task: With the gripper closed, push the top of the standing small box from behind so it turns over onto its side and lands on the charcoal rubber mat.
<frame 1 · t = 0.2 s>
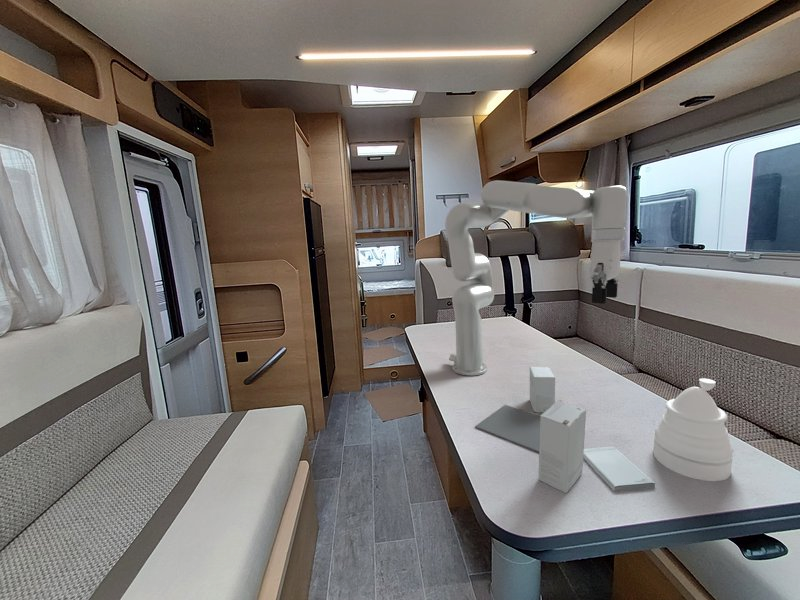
hand: (604, 300, 97), 30 cm above the table, tool pointing down, fingers open, 9 cm apart
small box: (541, 407, 103), on the table
hard drive: (613, 471, 75), on the table
honey pot: (689, 461, 77), on the table
skincare box: (560, 478, 73), on the table
rubber mat: (525, 428, 92), on the table
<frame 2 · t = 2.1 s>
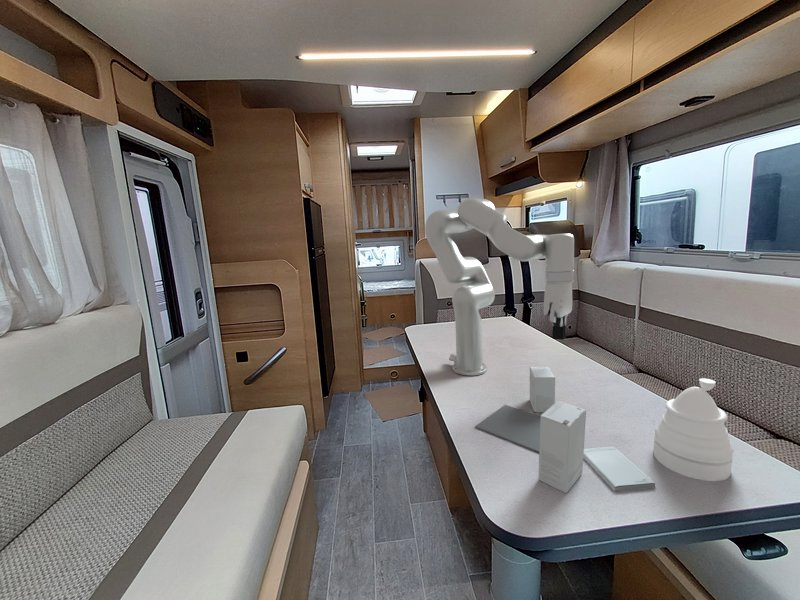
hand: (559, 338, 107), 18 cm above the table, tool pointing down, fingers closed
nothing on the table moved.
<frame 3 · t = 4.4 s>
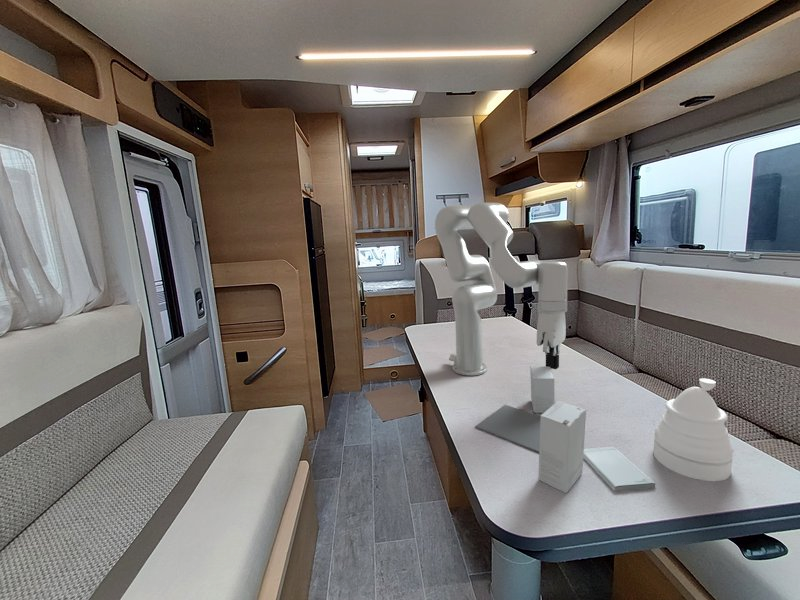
hand: (552, 367, 104), 10 cm above the table, tool pointing down, fingers closed
small box: (542, 406, 103), on the table, touching gripper
everything else where it was.
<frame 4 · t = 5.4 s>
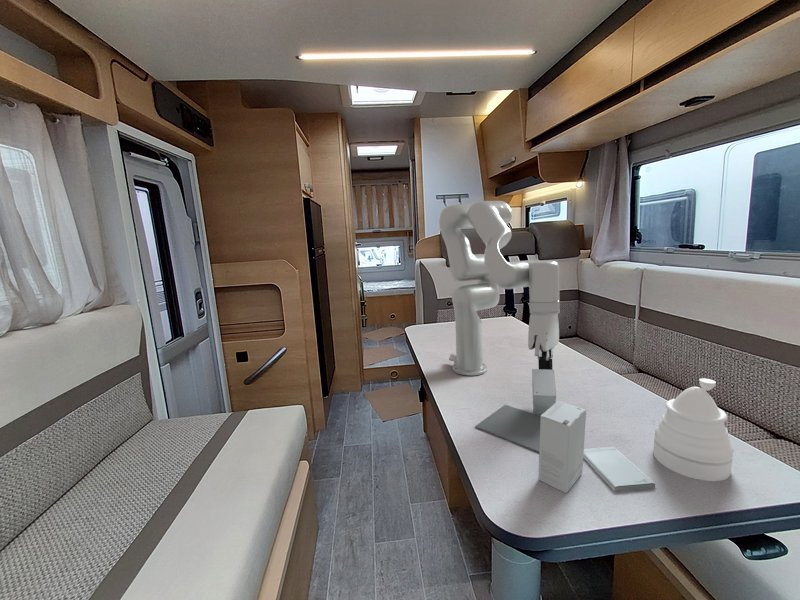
hand: (545, 372, 99), 11 cm above the table, tool pointing down, fingers closed
small box: (543, 400, 101), point 2 cm above the table, touching gripper
everything else where it was.
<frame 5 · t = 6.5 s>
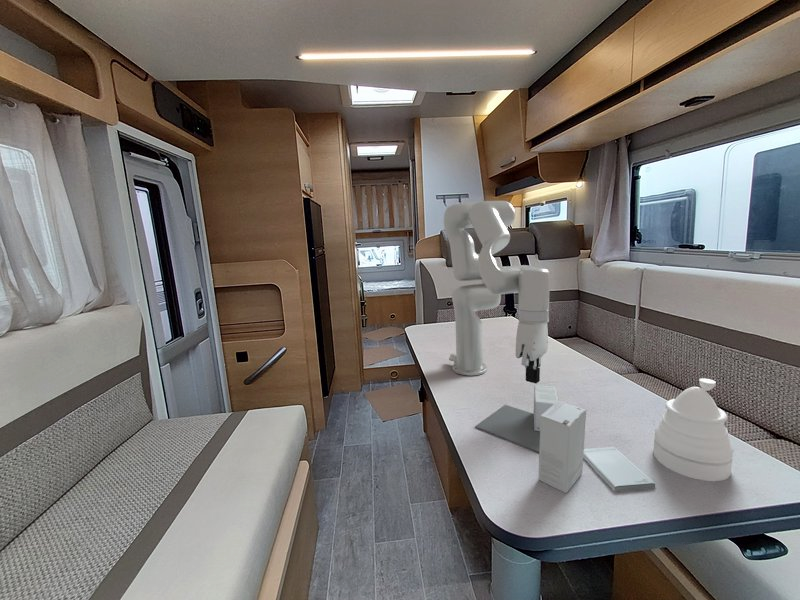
hand: (532, 381, 97), 10 cm above the table, tool pointing down, fingers closed
small box: (544, 398, 98), point 4 cm above the table, touching rubber mat
everything else where it was.
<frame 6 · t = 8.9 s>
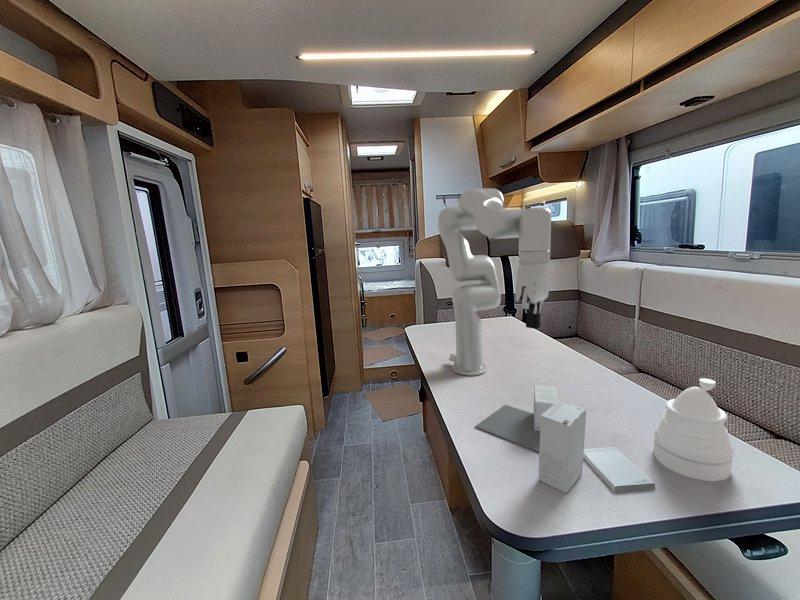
hand: (532, 327, 95), 25 cm above the table, tool pointing down, fingers closed
nothing on the table moved.
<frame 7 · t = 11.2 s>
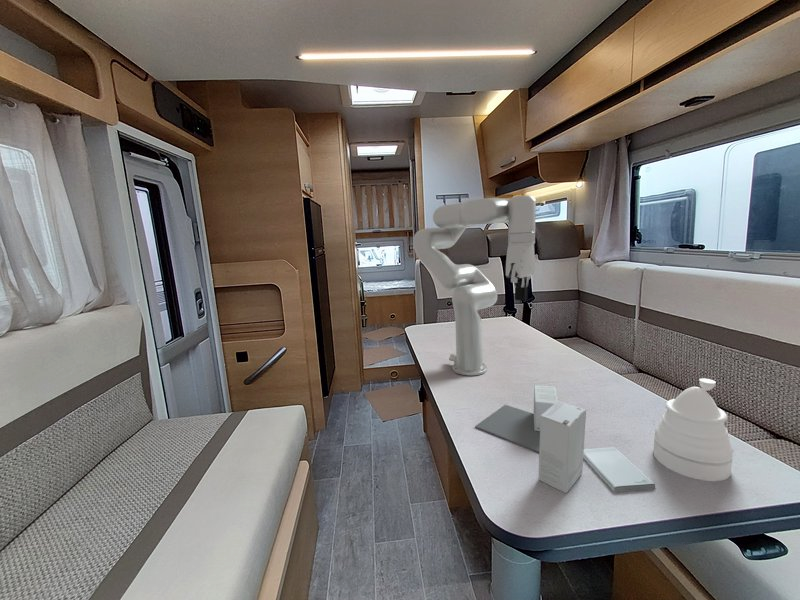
hand: (521, 299, 110), 29 cm above the table, tool pointing down, fingers closed
nothing on the table moved.
at the end: small box tilted 91°; small box touching rubber mat; the gripper is holding nothing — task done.
